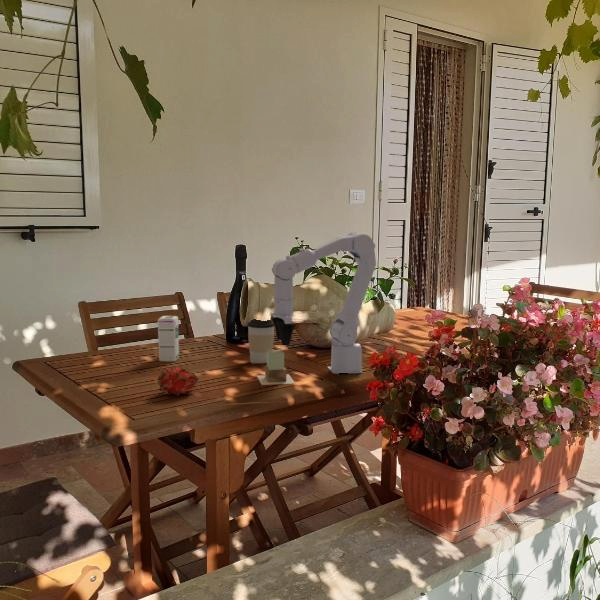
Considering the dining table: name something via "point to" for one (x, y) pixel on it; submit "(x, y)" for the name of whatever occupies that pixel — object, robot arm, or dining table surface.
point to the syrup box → (168, 338)
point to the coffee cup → (260, 339)
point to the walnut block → (275, 375)
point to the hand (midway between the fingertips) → (283, 342)
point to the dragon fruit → (177, 381)
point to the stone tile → (265, 382)
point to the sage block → (275, 359)
